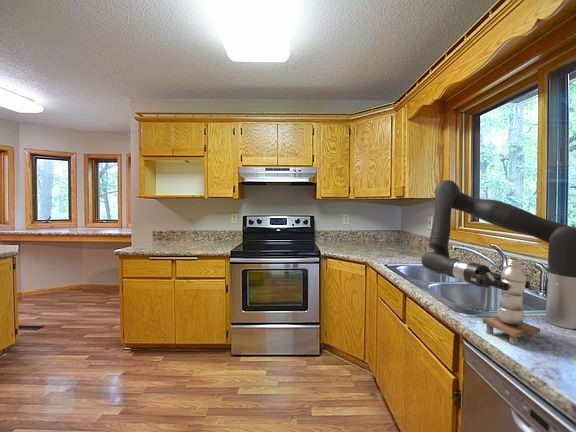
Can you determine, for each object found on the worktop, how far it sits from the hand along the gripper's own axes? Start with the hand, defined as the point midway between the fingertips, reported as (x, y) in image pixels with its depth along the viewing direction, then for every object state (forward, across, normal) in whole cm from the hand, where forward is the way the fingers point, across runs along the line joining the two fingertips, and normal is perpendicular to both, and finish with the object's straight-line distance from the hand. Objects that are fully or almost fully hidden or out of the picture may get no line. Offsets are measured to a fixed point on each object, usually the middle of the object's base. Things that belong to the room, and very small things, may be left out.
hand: (518, 286), depth 87 cm
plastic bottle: (-2, 0, +12) cm, 13 cm away
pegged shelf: (-2, 0, +16) cm, 17 cm away
